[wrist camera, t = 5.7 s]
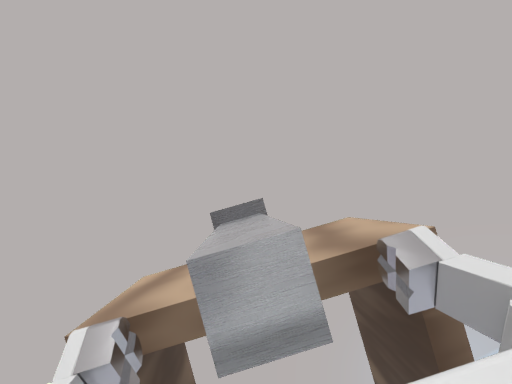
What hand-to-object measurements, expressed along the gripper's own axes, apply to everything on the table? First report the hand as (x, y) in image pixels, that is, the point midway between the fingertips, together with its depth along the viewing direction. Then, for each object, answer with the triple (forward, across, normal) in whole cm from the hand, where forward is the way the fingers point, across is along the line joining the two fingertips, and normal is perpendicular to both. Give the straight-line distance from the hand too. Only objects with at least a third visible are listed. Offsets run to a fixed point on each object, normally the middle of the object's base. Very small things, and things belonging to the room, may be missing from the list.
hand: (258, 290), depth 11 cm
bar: (+6, 0, +5) cm, 8 cm away
